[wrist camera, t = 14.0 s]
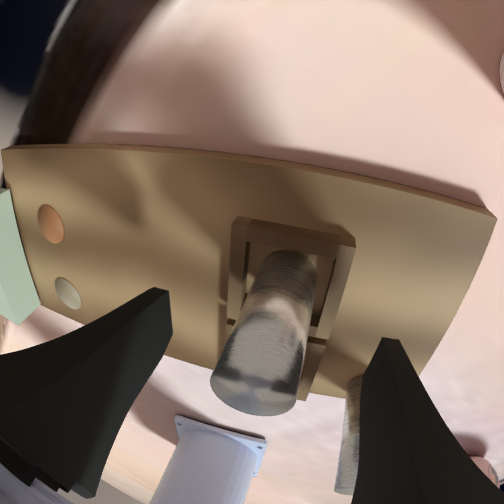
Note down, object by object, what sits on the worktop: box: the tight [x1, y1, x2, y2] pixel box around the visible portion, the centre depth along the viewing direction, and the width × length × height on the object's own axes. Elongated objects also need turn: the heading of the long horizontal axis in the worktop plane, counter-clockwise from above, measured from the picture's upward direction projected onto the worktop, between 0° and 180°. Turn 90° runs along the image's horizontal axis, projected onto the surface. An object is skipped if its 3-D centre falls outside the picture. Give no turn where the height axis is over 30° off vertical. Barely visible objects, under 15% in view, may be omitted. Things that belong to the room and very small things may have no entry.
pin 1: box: [210, 250, 317, 416], centre depth 10 cm, size 2×2×6 cm
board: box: [1, 144, 497, 401], centre depth 15 cm, size 12×26×2 cm, turn 85°
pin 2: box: [334, 376, 363, 495], centre depth 13 cm, size 2×2×6 cm
